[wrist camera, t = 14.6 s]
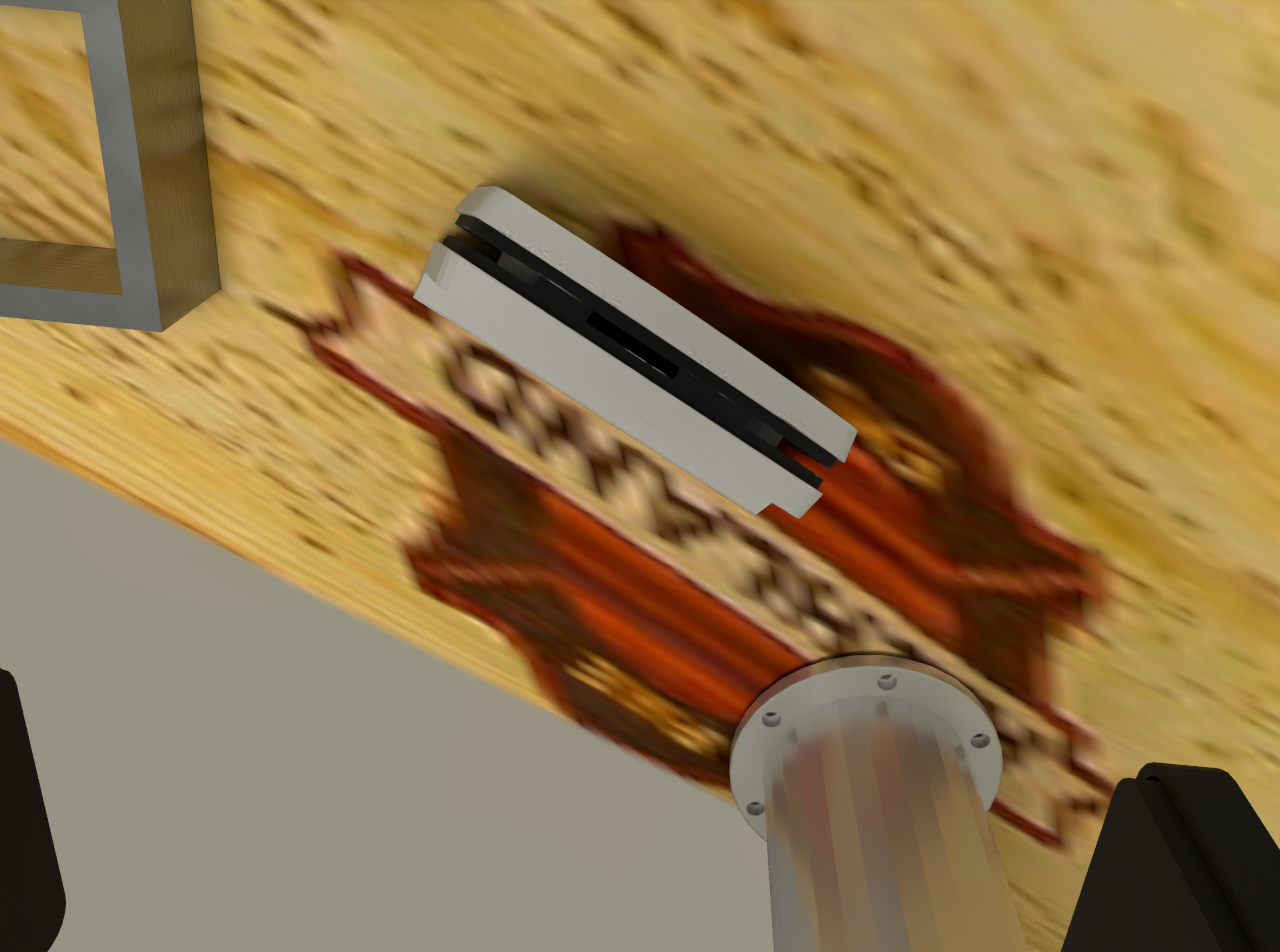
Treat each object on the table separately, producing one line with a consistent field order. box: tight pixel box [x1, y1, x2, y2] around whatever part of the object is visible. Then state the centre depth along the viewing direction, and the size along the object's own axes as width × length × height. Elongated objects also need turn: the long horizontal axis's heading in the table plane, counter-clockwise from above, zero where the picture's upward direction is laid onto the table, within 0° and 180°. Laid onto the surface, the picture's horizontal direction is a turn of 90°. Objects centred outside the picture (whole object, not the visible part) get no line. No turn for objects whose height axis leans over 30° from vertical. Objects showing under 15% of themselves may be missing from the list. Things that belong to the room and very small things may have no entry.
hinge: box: [413, 186, 857, 519], centre depth 38 cm, size 17×5×10 cm, turn 56°
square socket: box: [0, 0, 220, 332], centre depth 37 cm, size 11×10×5 cm
